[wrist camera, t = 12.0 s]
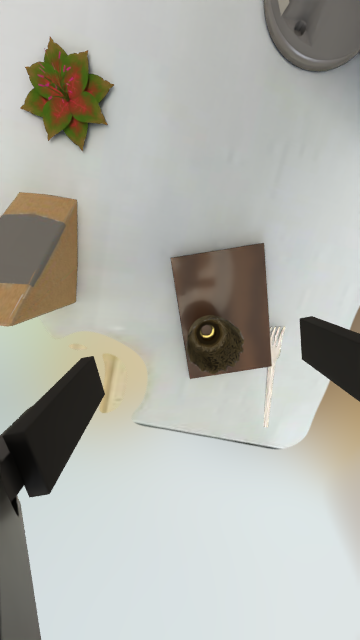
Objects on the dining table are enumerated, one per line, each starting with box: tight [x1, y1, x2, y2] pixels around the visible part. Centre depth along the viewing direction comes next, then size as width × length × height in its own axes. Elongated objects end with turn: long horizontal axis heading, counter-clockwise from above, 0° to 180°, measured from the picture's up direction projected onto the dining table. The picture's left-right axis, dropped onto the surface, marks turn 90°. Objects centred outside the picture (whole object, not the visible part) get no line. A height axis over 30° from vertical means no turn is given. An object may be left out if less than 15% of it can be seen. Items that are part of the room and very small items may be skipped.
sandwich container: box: [0, 192, 78, 326], centre depth 26 cm, size 9×15×15 cm, turn 173°
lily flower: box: [20, 37, 114, 151], centre depth 27 cm, size 12×12×5 cm
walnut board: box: [171, 243, 272, 379], centre depth 36 cm, size 14×20×2 cm
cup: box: [186, 315, 244, 374], centre depth 32 cm, size 8×7×8 cm
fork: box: [263, 326, 285, 427], centre depth 39 cm, size 3×20×2 cm, turn 1°
